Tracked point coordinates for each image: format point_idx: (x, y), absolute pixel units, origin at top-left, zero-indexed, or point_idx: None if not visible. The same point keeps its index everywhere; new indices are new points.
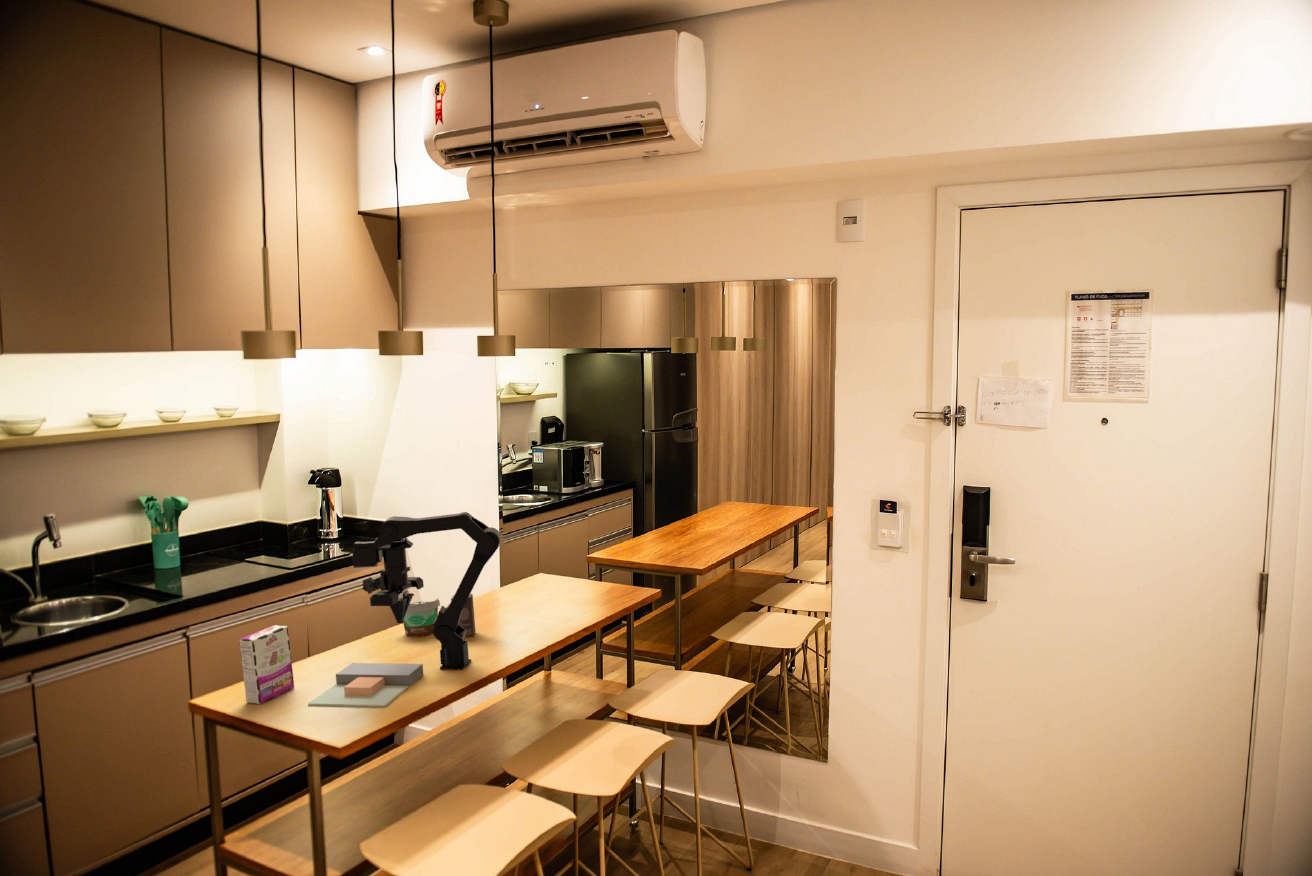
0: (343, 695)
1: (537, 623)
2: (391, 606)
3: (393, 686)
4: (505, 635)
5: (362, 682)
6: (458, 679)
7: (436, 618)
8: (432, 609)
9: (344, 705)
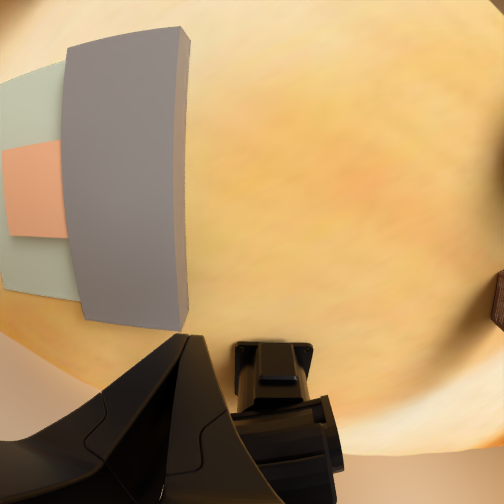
0: (15, 146)
1: (497, 395)
2: (48, 449)
3: None
4: (465, 380)
5: (28, 186)
6: None
7: (273, 479)
8: None
9: None
